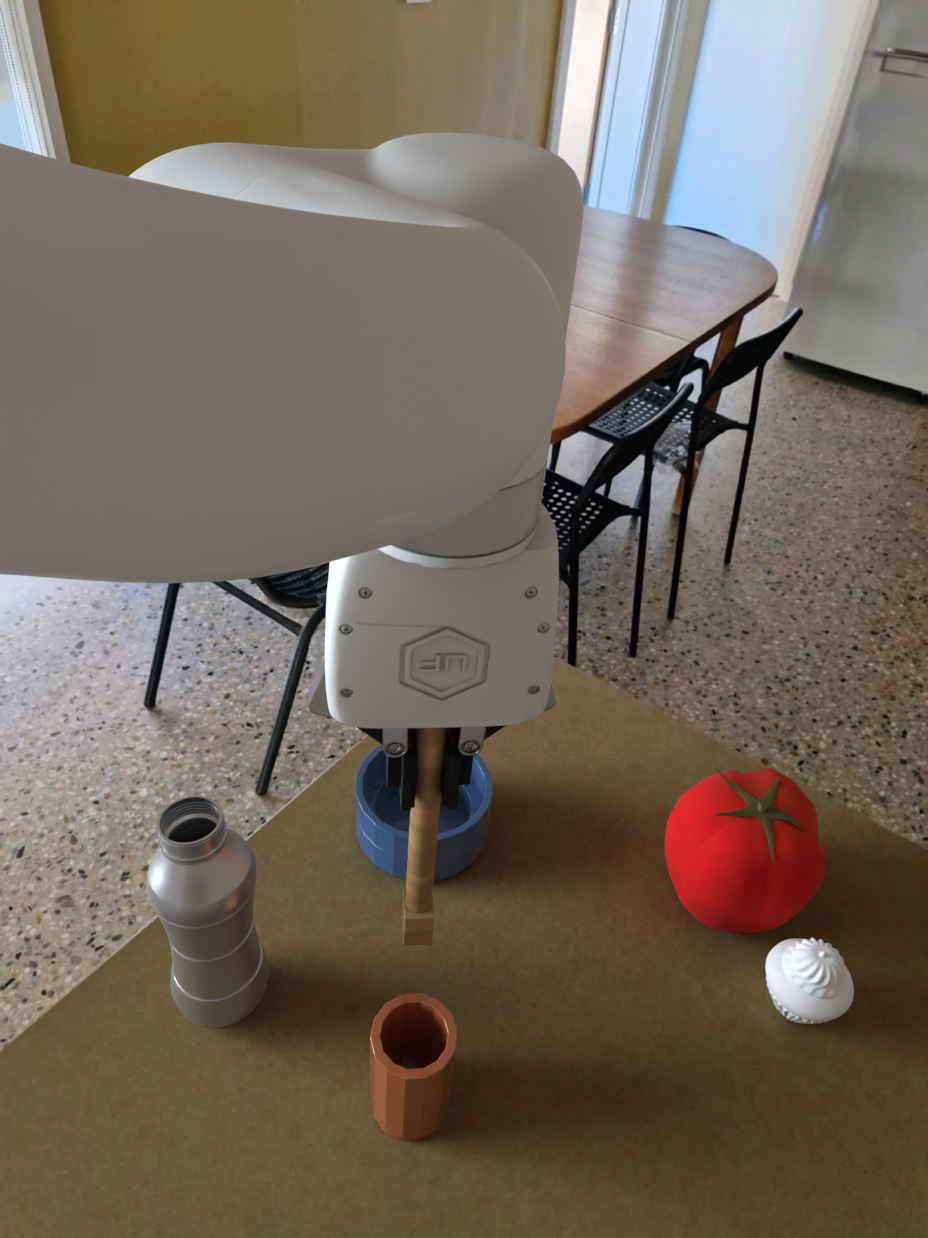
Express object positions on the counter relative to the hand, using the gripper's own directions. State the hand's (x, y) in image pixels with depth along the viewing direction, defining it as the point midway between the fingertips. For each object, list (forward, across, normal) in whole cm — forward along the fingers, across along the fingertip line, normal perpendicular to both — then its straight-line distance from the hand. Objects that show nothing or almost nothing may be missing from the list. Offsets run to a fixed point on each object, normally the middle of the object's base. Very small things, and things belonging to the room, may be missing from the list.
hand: (426, 787), depth 47 cm
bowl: (+26, +2, +17) cm, 31 cm away
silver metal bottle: (+26, -13, +3) cm, 29 cm away
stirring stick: (+14, 0, 0) cm, 14 cm away
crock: (+26, 0, -5) cm, 26 cm away
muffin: (+26, +29, 0) cm, 39 cm away
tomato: (+26, +27, +10) cm, 38 cm away
